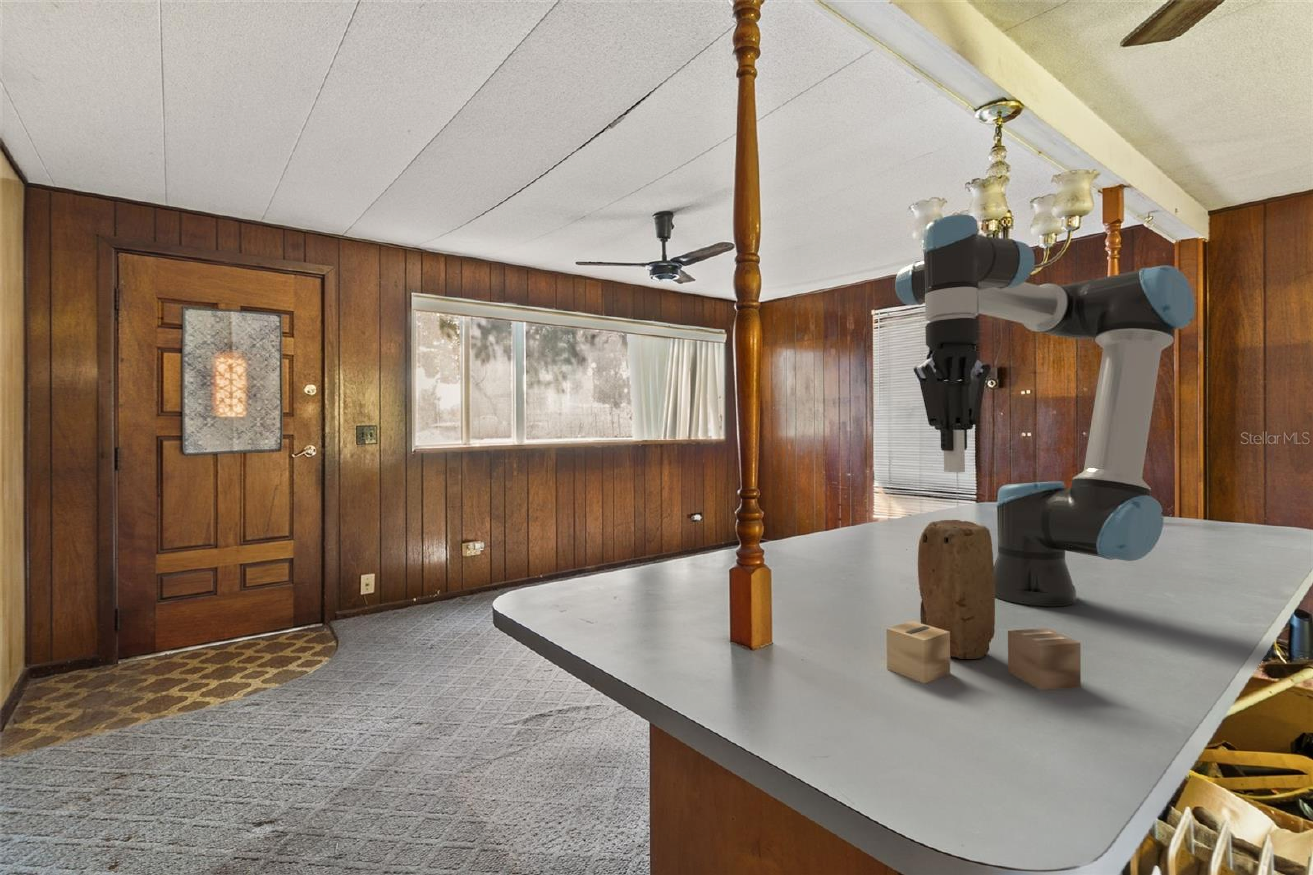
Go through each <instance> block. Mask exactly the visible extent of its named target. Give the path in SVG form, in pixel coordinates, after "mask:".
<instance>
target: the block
mask: <svg viewBox="0 0 1313 875" xmlns="http://www.w3.org/2000/svg"><path fill="white" fill-rule="evenodd" d="M994 565H995V563H994V552H993V541H992V536H991V532H990V529H988V527H986V526H985V525H979V524H977V523H974V522H972V521H969V520H968V521H967V520H960V519H943V520H935V521H931V522H929V523H928V525H927V526H926V527H925V528H924V530H923V531H922V533H921V535H920V537H919V540H918V549H917V577H918V578H917V579H918V586H919V587H918V589H919V594H920V598H921V602H920V608H919V612H920V614H919V615H920V616H919V617H920V618H919V619H920V623H921V624H925V625H928V626H931V627H935V628H938V629H942V630H945V631H949V632H950V658H951V657H952V658H957V659H959V660H962V659H963V660H964V659H965V660H966V659H967V660H976V659H982V658H983V657H984V655H985V654H988V652H989V651H990V643H991V642H992V640H993V639H994V637H995V632H996V631H995V630H996V629H995V627H996V626H995V624H996V618H995V617H996V597H995V593H994Z"/></svg>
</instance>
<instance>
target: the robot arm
mask: <svg viewBox="0 0 1313 875" xmlns="http://www.w3.org/2000/svg"><path fill="white" fill-rule="evenodd" d="M979 231H980V229H979V228H978V221H977V219H976V218H975V217H974V216H972V215H969V214H954V215H947V216H943V217H941V218H939V217H938V218H937V219H934V220H933V221H931V222H929V223H928V224H927V225H926V226H925V229H924V235H923V236H924V238H923V249H922V253H923V259H922V260H917V261H915V262H913V263H911V264H909V265H906V266H905V267H903V268H901V269H900V270H899V271H898V272H897V275H896V277H895V283H894V285H895V286H894V288H895V293H896V295H897V297H898V299H899V301H900V302H902V303H903V304H905V305H906V306H921V305H924V311H925V312H924V315H925V316H924V318H925V320H926V321H928V323H926V325H925V328H924V330H925V346H927V347H928V352H927V355H926V359H925V361H924V362H923V363H922V364H920V365H918V364H917V365H914V367H913V372H914V373H915V376H916V377H917V379H918V380H919V384H920V391H921V393H922V394H921V395H922V399H923V404H924V409H925V414H926V418H927V422H928V425H929V426H930V427H934V429H935V430H937V431H939V432H940V449H941V451H943V471H944V472H946V473H966V465H965V464H966V463H965V462H966V460H965V459H966V456H965V455H966V454H965V453H966V451H967V448H968V430H970V431H971V430H972V429H973V428H974V426H976V425H978V424H979V422H980V416H981V409H982V403H983V398H984V392H985V387H986V380H987V377H988V376H989V374H990V373H991V369H992V366H991V365H990V364H989V363H985V364H984V363H982V362H981V361H980V360H979V356H978V353H977V350H976V346H977V344H978V343H979V342H980V321H979V320H978V319H977V318H976V317H978V315H979V314H980V315H984V316H989V317H993V318H999V319H1003V320H1007V321H1012V322H1016V323H1020V324H1022V325H1023V326H1024V327H1025V328H1026V329H1028V330H1030V331H1032V332H1037V333H1041V334H1045V335H1050V336H1055V337H1062V338H1069V339H1074V340H1075V339H1076V340H1077V339H1078V340H1094V339H1095V340H1094V341H1095V343H1096V344H1097V345H1098V346H1099V347H1101V348H1102V355H1101V360H1100V367H1099V373H1098V380H1097V385H1096V391H1095V398H1094V404H1093V409H1092V410H1093V411H1092V415H1091V416H1092V417H1091V423H1090V429H1089V435H1088V442H1087V448H1086V453H1085V454H1086V455H1085V461H1084V467H1083V471H1082V472H1081V473H1078V474H1077V475H1075V476H1074V477H1072V480H1071V486H1070V489H1067V486H1066V485H1065V483H1064V482H1063V481H1062V480H1060V481H1056V480H1055V481H1041V482H1040V481H1039V482H1027V483H1026V482H1023V483H1012V484H1011V483H1010V484H1004V485H1002V486H1001V487H999V488H998V490H997V503H996V506H995V507H996V513H997V514H996V515H997V518H996V520H997V522H996V523H997V557H996V560H995V563H994V593H995V598H998V599H1000V600H1004V601H1007V602H1010V603H1015V604H1021V605H1027V606H1037V607H1065V606H1071V605H1073V604H1075V603H1076V602H1077V589H1076V587H1075V585H1074V583H1073V579H1072V577H1071V574H1070V571H1069V568H1068V565H1067V562H1066V552H1069V553H1076V554H1081V555H1087V556H1093V557H1097V558H1101V559H1104V560H1109V561H1112V560H1117V561H1123V562H1124V561H1125V562H1133V561H1138V560H1141V559H1143V558H1144V557H1146V556H1147V555H1148V554H1149V553H1150V552H1152V551H1153V550H1154V548H1155V546H1157V544H1158V542H1159V540H1160V537H1161V534H1162V531H1163V527H1164V514H1162V513H1163V507H1162V505H1161V504H1160V502H1159V501H1158V500H1157V499H1156V498H1154V497H1153V496H1151V492H1152V488H1151V487H1150V486H1149V485H1148V484H1147V483H1146V482H1145V480H1144V479H1143V472H1144V466H1145V461H1146V454H1147V453H1146V451H1147V447H1148V440H1149V439H1148V438H1149V434H1150V426H1151V420H1152V414H1153V407H1154V401H1155V394H1156V389H1157V388H1156V387H1157V380H1158V373H1159V366H1160V361H1161V356H1162V355H1161V354H1162V351H1163V350H1164V349H1166V348H1167V347H1168V348H1169V346H1171V345H1172V344H1174V340H1175V333H1176V330H1182V329H1184V328H1186V327H1187V326H1189V325H1190V324H1191V322H1192V321H1193V319H1194V316H1195V312H1196V305H1195V304H1196V302H1195V297H1194V296H1195V295H1194V292H1193V290H1192V287H1191V285H1190V283H1189V280H1188V278H1187V277H1186V275H1185V274H1184V273H1183V272H1182V271H1180V270H1179V269H1178V268H1177V267H1175V266H1172V265H1159V266H1153V267H1143V268H1140V269H1138V270H1133V271H1129V272H1124V273H1120V274H1114V275H1110V276H1109V275H1108V276H1105V277H1099V278H1095V279H1090V280H1089V279H1088V280H1085V281H1079V282H1075V283H1071V284H1070V283H1069V284H1062V285H1061V284H1059V285H1058V284H1055V283H1043V284H1040V285H1037V284H1034V283H1029V282H1027V280H1029V278H1030V276H1031V274H1032V273H1033V270H1034V267H1035V260H1036V259H1035V253H1034V251H1033V249H1032V247H1031V246H1030V245H1028V244H1027V243H1025V242H1023V241H1020V240H1019V241H1018V240H1015V239H1013V238H1003V237H1001V238H1000V237H992V236H985V235H982V234H979Z"/></svg>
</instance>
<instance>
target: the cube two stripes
mask: <svg viewBox="0 0 1313 875" xmlns="http://www.w3.org/2000/svg"><path fill="white" fill-rule="evenodd" d="M1081 650H1082V649H1081V642H1079V641H1076V640H1074V639H1072V638H1070V637H1068V636H1066V635H1063V634H1060V633H1058V632H1056V631H1053V630H1052V629H1049V628H1047V627H1046V628H1043V627H1042V628H1030V629H1029V628H1028V629H1014V630H1007V668H1008V669H1007V670H1008V671H1007V672H1008V674H1011V675H1013V676H1014V677H1016V678H1018V679H1019V680H1021V681H1023V682H1025V683H1026V684H1028V685H1030V686H1032V687H1033V688H1035V689H1037V690H1039V691H1045V690H1058V689H1059V690H1060V689H1073V688H1081V686H1082V683H1081V680H1082V676H1081V675H1082V674H1081V668H1082V667H1081V666H1082V664H1081V661H1082V660H1081V654H1082V653H1081Z"/></svg>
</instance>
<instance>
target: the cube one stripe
mask: <svg viewBox="0 0 1313 875" xmlns="http://www.w3.org/2000/svg"><path fill="white" fill-rule="evenodd" d="M886 670H887V671H891V672H894V673H897V674H899V675H901V676H904V677H907V678H908V679H911V680H914V681H917V682H920V683H922V684H926V683H927V684H928V682H932V681H934V680H936V679H939V678H941V677H944V676H947V675H949V674H951V656H950V632H949V631H945V630H942V629H938V628H935V627H931V626H928V625H925V624H921V622H918V621H914V620H911V621H907V622H904V623H901V624H897V625H894V626H891V627H887V628H886Z"/></svg>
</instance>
